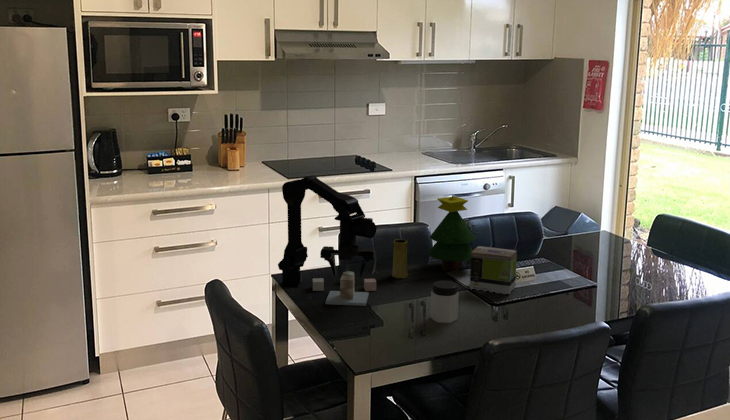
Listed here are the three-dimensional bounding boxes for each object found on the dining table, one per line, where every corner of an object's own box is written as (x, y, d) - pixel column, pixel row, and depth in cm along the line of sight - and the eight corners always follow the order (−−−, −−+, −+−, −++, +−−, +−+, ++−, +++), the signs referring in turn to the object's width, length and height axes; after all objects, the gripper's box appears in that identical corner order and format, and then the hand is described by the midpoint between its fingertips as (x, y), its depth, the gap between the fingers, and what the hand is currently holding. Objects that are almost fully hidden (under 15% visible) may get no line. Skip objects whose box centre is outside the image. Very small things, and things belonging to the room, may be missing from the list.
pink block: (365, 291, 270) (365, 282, 270) (363, 287, 274) (363, 278, 273) (376, 291, 271) (376, 282, 270) (374, 287, 275) (374, 278, 274)
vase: (406, 279, 284) (407, 243, 280) (390, 278, 285) (391, 242, 282) (408, 274, 290) (409, 239, 286) (393, 273, 291) (393, 238, 287)
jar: (441, 311, 251) (442, 278, 248) (461, 317, 246) (462, 283, 243) (425, 319, 244) (426, 285, 241) (446, 325, 239) (447, 290, 236)
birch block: (340, 298, 260) (340, 279, 258) (341, 294, 264) (341, 275, 262) (352, 299, 259) (353, 280, 258) (354, 294, 264) (354, 276, 262)
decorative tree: (446, 279, 284) (448, 203, 277) (417, 265, 300) (419, 193, 293) (485, 271, 294) (488, 198, 287) (455, 259, 310) (458, 189, 303)
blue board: (325, 304, 257) (325, 301, 257) (330, 293, 268) (330, 290, 268) (365, 305, 256) (365, 303, 256) (368, 294, 266) (368, 292, 266)
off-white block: (312, 291, 270) (312, 282, 270) (312, 287, 274) (312, 278, 274) (323, 290, 271) (323, 281, 270) (323, 287, 275) (323, 278, 274)
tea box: (515, 287, 276) (517, 249, 272) (508, 296, 267) (511, 256, 263) (476, 281, 282) (478, 244, 278) (468, 289, 273) (470, 251, 269)
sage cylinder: (342, 283, 278) (342, 274, 278) (343, 279, 283) (343, 271, 282) (353, 284, 278) (353, 275, 277) (354, 280, 282) (354, 271, 282)
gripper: (317, 239, 249) (318, 282, 253) (372, 240, 247) (372, 285, 251) (322, 230, 260) (323, 272, 264) (375, 232, 258) (375, 274, 262)
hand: (348, 276), depth 260 cm, fingers open, 9 cm apart
